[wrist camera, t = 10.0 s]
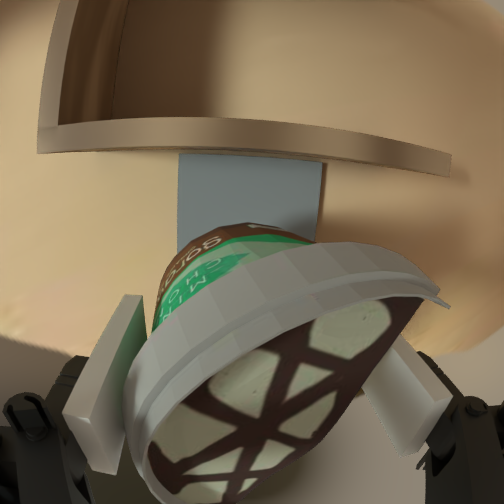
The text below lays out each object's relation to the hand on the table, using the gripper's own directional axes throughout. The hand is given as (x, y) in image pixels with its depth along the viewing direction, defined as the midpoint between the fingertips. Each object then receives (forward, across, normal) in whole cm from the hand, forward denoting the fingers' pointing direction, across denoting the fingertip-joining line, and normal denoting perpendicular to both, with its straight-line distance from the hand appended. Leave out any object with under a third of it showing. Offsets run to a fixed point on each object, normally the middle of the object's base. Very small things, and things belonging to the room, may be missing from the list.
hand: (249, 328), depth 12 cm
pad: (+9, 0, 0) cm, 9 cm away
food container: (+4, -2, 0) cm, 5 cm away
